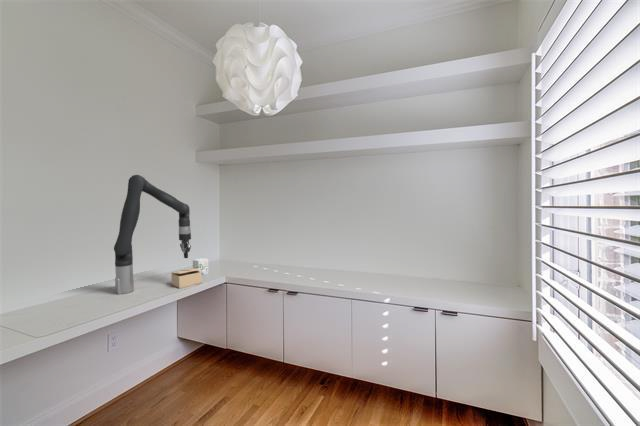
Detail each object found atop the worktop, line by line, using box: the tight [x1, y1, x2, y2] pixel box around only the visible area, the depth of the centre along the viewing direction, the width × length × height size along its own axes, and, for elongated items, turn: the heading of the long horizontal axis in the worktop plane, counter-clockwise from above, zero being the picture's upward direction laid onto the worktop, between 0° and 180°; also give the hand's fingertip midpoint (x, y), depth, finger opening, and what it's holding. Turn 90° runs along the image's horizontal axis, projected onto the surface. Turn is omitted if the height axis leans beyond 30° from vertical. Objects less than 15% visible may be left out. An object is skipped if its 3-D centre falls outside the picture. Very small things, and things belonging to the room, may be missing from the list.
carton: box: [171, 270, 203, 290], centre depth 201 cm, size 15×13×8 cm
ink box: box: [192, 257, 209, 276], centre depth 229 cm, size 8×8×12 cm
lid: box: [171, 267, 201, 274], centre depth 201 cm, size 15×13×1 cm
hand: (186, 258), depth 201 cm, fingers closed
